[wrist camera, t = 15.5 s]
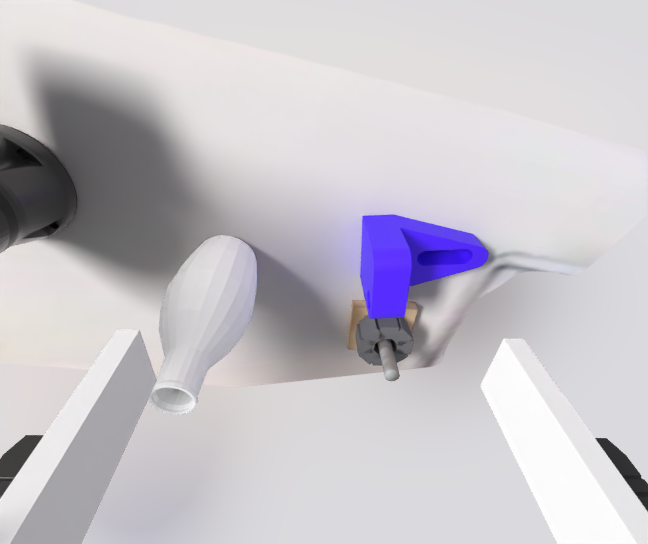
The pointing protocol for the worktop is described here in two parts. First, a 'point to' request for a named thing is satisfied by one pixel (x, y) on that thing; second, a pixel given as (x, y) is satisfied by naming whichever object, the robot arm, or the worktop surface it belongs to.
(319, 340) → the worktop surface
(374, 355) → the dark grey gear
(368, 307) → the bracket
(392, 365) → the peg base board
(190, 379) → the bottle
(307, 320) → the worktop surface
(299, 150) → the worktop surface
